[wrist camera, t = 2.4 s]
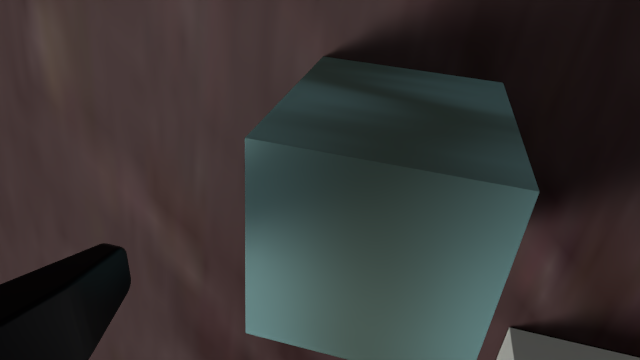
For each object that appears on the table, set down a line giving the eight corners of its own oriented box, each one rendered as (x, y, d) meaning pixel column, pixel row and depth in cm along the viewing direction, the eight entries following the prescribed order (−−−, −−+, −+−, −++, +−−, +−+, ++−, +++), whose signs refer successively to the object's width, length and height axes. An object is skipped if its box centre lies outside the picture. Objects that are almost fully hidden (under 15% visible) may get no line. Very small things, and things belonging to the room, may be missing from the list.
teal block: (311, 201, 16) (245, 333, 11) (323, 56, 13) (244, 137, 8) (459, 231, 15) (464, 390, 10) (503, 81, 12) (539, 191, 7)
